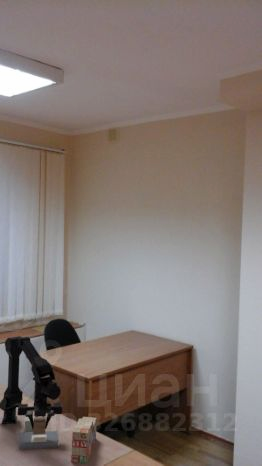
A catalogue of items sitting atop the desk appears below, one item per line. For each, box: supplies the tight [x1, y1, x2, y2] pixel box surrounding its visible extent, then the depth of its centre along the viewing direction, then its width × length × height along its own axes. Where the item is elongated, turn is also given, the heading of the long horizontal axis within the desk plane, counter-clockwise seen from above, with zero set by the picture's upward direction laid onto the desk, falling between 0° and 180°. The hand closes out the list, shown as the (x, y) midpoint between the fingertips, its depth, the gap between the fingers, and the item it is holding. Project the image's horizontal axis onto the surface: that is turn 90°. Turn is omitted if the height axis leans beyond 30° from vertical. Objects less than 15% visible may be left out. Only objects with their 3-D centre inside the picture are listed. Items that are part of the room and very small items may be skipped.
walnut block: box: [33, 416, 47, 434], centre depth 185 cm, size 5×5×5 cm
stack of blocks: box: [70, 416, 97, 464], centre depth 179 cm, size 21×6×12 cm, turn 175°
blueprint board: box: [18, 430, 59, 450], centre depth 185 cm, size 13×16×1 cm
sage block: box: [24, 415, 35, 432], centre depth 196 cm, size 5×5×5 cm
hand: (39, 428), depth 185 cm, fingers closed on walnut block, 5 cm apart
